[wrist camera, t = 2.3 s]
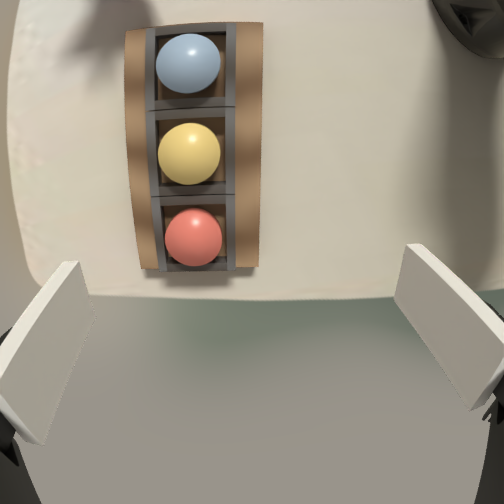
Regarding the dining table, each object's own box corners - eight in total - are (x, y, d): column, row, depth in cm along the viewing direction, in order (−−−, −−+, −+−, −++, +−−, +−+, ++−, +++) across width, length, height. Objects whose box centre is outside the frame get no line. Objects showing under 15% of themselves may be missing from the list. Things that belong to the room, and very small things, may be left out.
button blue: (160, 40, 20) (156, 36, 19) (221, 36, 21) (220, 32, 19) (159, 95, 23) (156, 95, 21) (220, 92, 23) (220, 91, 22)
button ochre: (160, 124, 24) (156, 125, 22) (220, 121, 24) (220, 122, 23) (163, 181, 26) (159, 185, 25) (220, 179, 26) (220, 183, 25)
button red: (165, 208, 27) (162, 214, 26) (221, 207, 28) (221, 212, 26) (170, 258, 29) (168, 266, 28) (222, 257, 30) (222, 265, 28)
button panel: (131, 35, 22) (120, 27, 19) (260, 27, 23) (265, 18, 20) (145, 259, 33) (137, 276, 30) (256, 257, 34) (259, 274, 30)
